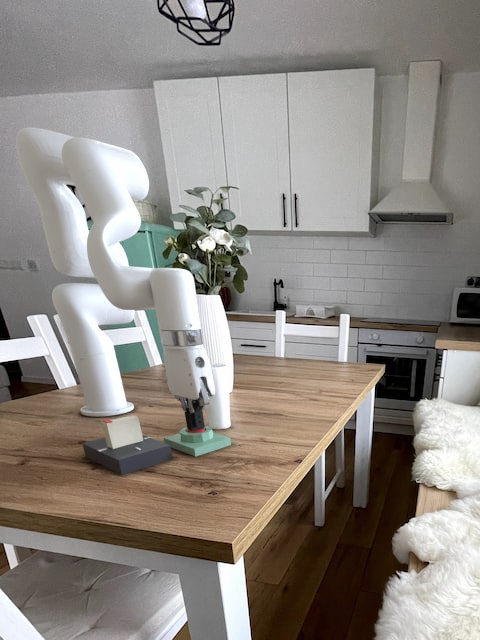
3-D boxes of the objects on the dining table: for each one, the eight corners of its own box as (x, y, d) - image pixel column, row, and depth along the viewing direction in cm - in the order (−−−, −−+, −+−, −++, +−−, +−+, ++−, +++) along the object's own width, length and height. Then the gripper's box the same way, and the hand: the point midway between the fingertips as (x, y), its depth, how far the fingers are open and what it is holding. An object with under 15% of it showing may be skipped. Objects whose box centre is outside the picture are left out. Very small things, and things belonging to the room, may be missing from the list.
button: (184, 436, 85) (183, 429, 85) (199, 432, 88) (198, 425, 87) (194, 440, 84) (193, 432, 83) (209, 436, 86) (208, 428, 86)
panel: (85, 457, 79) (81, 442, 77) (136, 443, 86) (133, 430, 85) (121, 475, 72) (117, 459, 70) (173, 458, 79) (170, 444, 78)
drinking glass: (225, 432, 95) (217, 368, 89) (199, 429, 96) (190, 367, 90) (238, 424, 101) (232, 364, 95) (214, 422, 102) (206, 362, 96)
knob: (138, 438, 80) (132, 413, 78) (143, 440, 79) (138, 415, 77) (107, 446, 76) (100, 420, 74) (112, 449, 75) (106, 422, 73)
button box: (165, 445, 86) (162, 429, 85) (200, 434, 93) (198, 420, 91) (195, 456, 81) (192, 440, 79) (231, 444, 87) (229, 429, 86)
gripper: (222, 341, 76) (233, 431, 84) (177, 335, 84) (191, 419, 92) (187, 344, 71) (202, 440, 78) (142, 337, 78) (160, 426, 86)
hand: (196, 428), depth 85 cm, fingers closed
